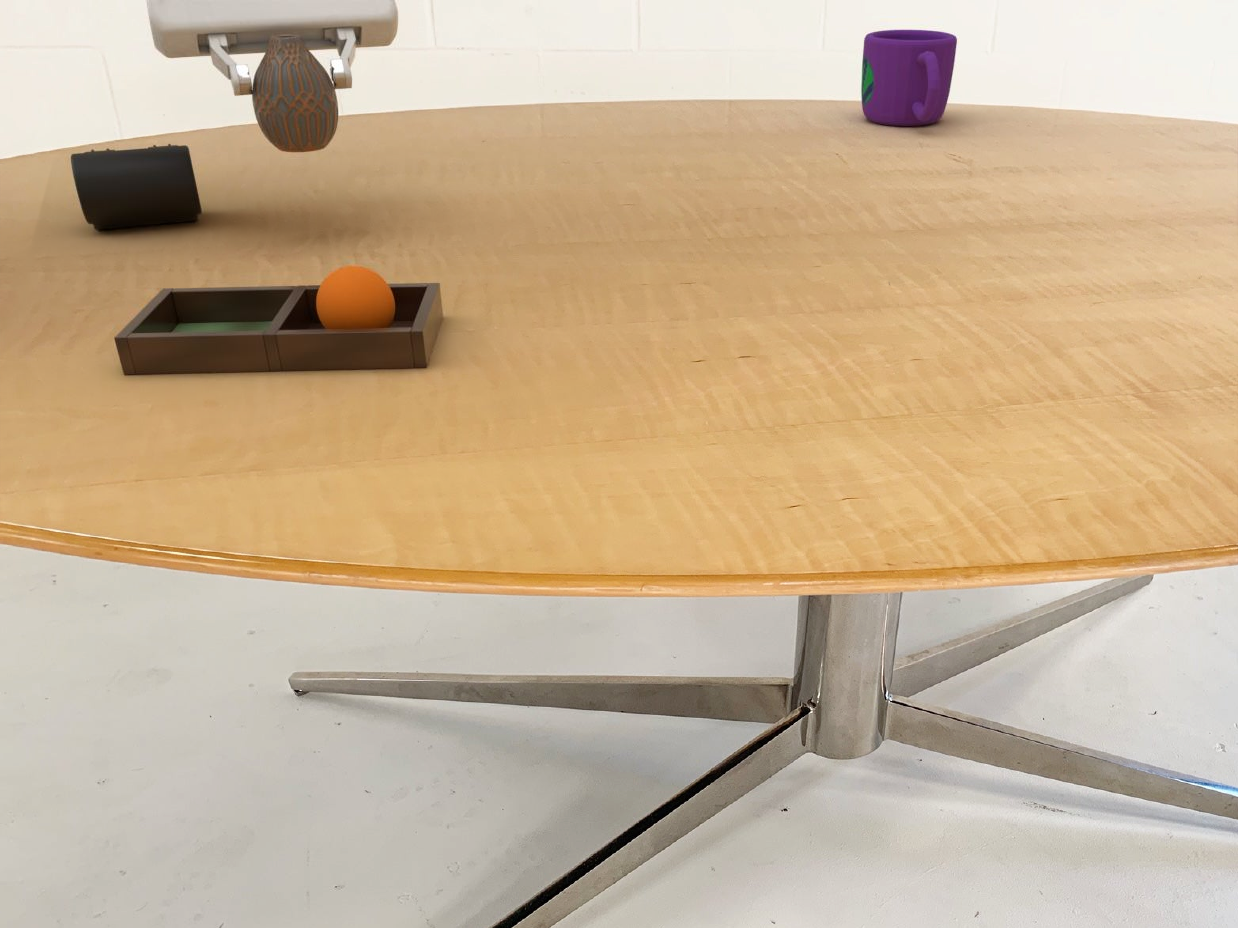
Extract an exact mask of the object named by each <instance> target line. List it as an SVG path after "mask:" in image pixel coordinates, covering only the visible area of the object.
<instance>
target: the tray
mask: <svg viewBox="0 0 1238 928" xmlns="http://www.w3.org/2000/svg"><path fill="white" fill-rule="evenodd" d="M387 284H388V286H389V287H390V289H391V291H392V293H393V296H394V301H395V314H394V319H393V322H392V324H391V326H390V328H359V329H325V327H324V326H323V325H322V323H321V321H320V319H319V316H318V313H317V307H316V298H317V293H318V290H319V287H320V285H321V284H313V285H311V284H309V285H308V284H307V285H270V286H268V285H265V286H223V287H222V286H219V287H216V286H215V287H176V288H173V287H169V288H168V287H167V288H166V287H165V288H162V289H161V290H160V291H159V292H158V293H157V294H156V295H155V296H154V297H153V298H152V299H151V300H150V301H149V302H148V303H147V304H146V305H145V306H144V307H143V308H142V309H141V310H140V311H139V312H138V313H137V314H136V315H135V316H134V317H133V318H132V320H130V321H129V322H128V323H127V324H126V325H125V326H124V328H122V329H121V330H120V331H119V333H117V334H116V335H115V336H114V343H115V347H116V350H117V355H118V358H119V362H120V365H121V369H122V373H123V375H124V376H125V377H126V376H162V375H164V376H167V375H168V376H169V375H206V374H207V375H208V374H209V375H210V374H247V373H249V374H250V373H252V374H253V373H289V372H290V373H292V372H294V373H295V372H298V373H299V372H334V371H335V372H337V371H338V372H340V371H373V370H374V371H376V370H377V371H378V370H381V371H382V370H383V371H384V370H415V369H416V370H420V369H421V370H422V369H423V370H424V369H425V370H426V369H428V366H429V363H430V360H431V357H432V354H433V350H434V347H435V344H436V341H437V338H438V335H439V333H440V328H441V326H442V322H443V320H444V311H443V302H442V292H441V283H440V282H412V283H411V282H410V283H409V282H408V283H405V282H404V283H387Z"/></svg>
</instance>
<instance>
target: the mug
mask: <svg viewBox="0 0 1238 928" xmlns="http://www.w3.org/2000/svg"><path fill="white" fill-rule="evenodd" d="M957 43H958V39H957V36H956V35H954V34H952V33H949V32H945V31H938V30H927V29H887V30H877V31H873V32H870V33H867V34H866V35H865V36H864V39H863V50H862V63H861V88H860V93H861V94H860V95H861V107H862V108H861V109H862V113H863V115H864V116H865V118H866V119H867V120H868V121H870V122H872V123H875V124H879V125H883V126H884V125H885V126H891V127H921V126H928V125H931V124H934V123H936V122H938V121H939V120H941V119H942V117H943V116H944V114H945V111H946V109H947V108H946V107H947V104H948V100H949V96H950V93H951V86H952V81H953V74H954V68H955V61H956V53H957V46H958V45H957Z"/></svg>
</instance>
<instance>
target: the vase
mask: <svg viewBox="0 0 1238 928" xmlns="http://www.w3.org/2000/svg"><path fill="white" fill-rule="evenodd" d="M252 80H253V81H252V92H253V94H252V95H251V100H252V101H251V102H252V107H253V112H254V115H255V119H256V122H257V124H258V126H259V128H260V131H261V132H262V134H263V136H264V137H265V138H266V139H267V141H268V142H269V143H270V144H271V145H273V146H274V147H275V148H276V149H277V150H279V151H281V152H285V153H309V152H317V151H320V150H323V149H326V148H328V145H329V144H330V143H331V142H332V140H333V138H334V136H335V134H336V132H337V128H338V123H339V104H338V97H337V93H336V89H334V86H333V81H332V79H331V76H330V74H329V73H328V71H327V69H326V68H325V67H324V66H323V65H322V64H321V62H320V61H319V60H318V59H317V58H316V57H315V55H314V54H313V53H312V52H311V50H308V49H307V47H306V46H305V44H304V42H303V40H302V38H301V37H300V36H299V35H295V34H282V35H273V36H271V37H270V40H269V45H268V48H267V51H266V53H264V54H263V57H262V58H261V61H260V62H259V64H258V66H257V68H256V70H255V73H254V75H253V79H252Z"/></svg>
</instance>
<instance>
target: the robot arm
mask: <svg viewBox="0 0 1238 928" xmlns="http://www.w3.org/2000/svg"><path fill="white" fill-rule="evenodd" d="M146 7H147V8H146V9H147V14H148V21H149V26H150V32H151V36H152V41H153V45H154V49H155V50H157V52H159V53H160V54H161V55H162V56H164V57H166V58H167V59H168V58H169V59H178V58H179V59H180V58H197V57H210V59H211V62H212V65H213V66H214V67H215V68H216V69H217V70H218V71H219V72H220V73H221V74H222V75H223V76H224V77H225V78H226V79H227V80H229V81H230V85H231V88H232V92H233V95H234V97H239V96H252V94H253V92H252V87H253V81H252V78H251V75H250V70H249V67H248V64H237V62H235V61H234V59H233V58H232V57H231V55H232V56H233V55H249V54H251V55H252V54H265V53H266V51H267V48H268V45H269V40H270V37H271V36H273V35H282V34H295V35H299V36H300V37H301V38H302V40H303V42H304V44H305V46H306V47H307V49H308V50H309V51H322V50H323V51H324V50H336V51H337V54H338V56H339V58H336V59H335V58H334V59H330V60H329V66H330V68H329V76H330V79H331V81H332V83H333V86H334V89H335V90H346V89H352V88H353V75H352V71H351V67H352V65H353V63H354V60H355V58H356V49H361V48H378V47H388V46H391V45H392V43H393V41H394V40H395V39H396V37H397V34H398V28H399V11H398V7H397V3H396V0H146Z"/></svg>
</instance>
